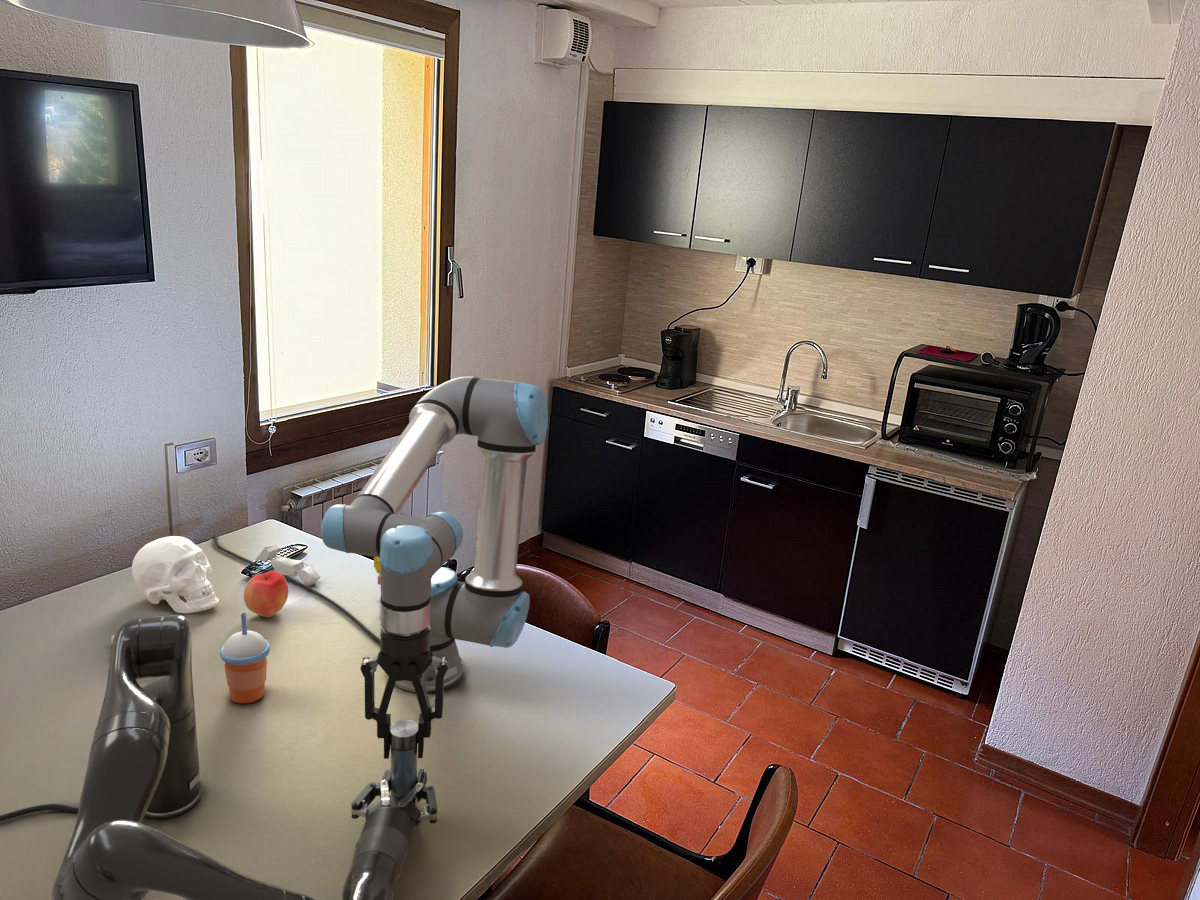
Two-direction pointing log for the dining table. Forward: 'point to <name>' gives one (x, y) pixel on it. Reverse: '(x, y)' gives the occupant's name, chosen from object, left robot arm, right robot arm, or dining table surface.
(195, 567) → the skull
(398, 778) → the blue thermos bottle
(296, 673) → the dining table surface
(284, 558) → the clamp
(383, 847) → the left robot arm
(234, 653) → the cup with straw
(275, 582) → the apple
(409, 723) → the lid
